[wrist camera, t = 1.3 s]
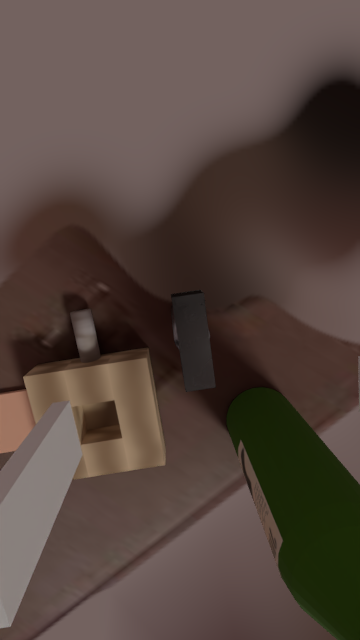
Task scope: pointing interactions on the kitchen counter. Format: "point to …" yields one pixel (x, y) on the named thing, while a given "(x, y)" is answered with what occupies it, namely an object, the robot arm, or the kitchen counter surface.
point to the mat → (14, 419)
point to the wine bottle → (302, 507)
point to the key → (193, 339)
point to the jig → (103, 403)
